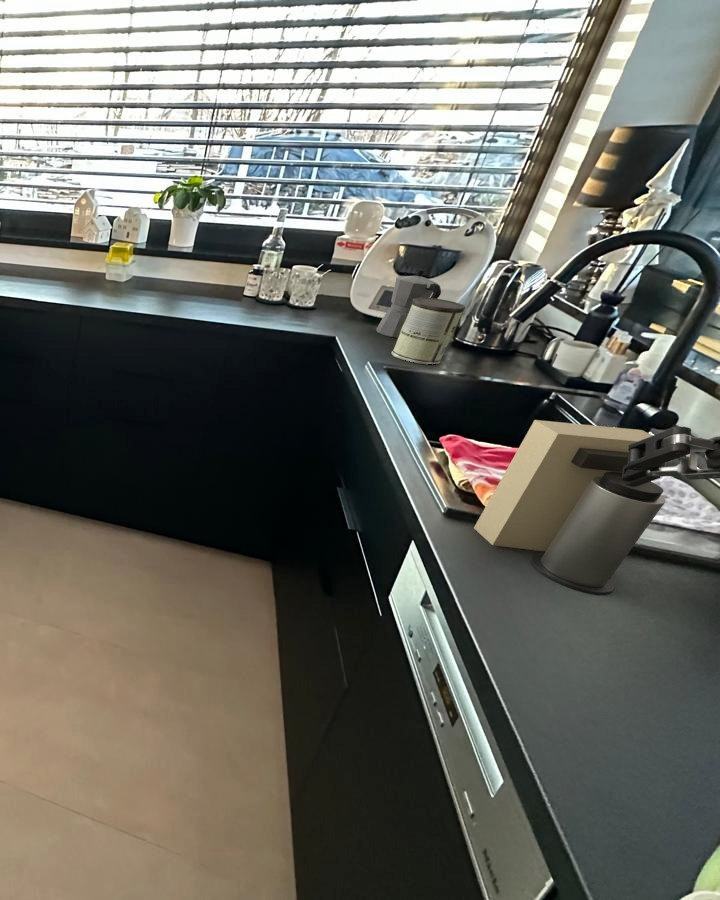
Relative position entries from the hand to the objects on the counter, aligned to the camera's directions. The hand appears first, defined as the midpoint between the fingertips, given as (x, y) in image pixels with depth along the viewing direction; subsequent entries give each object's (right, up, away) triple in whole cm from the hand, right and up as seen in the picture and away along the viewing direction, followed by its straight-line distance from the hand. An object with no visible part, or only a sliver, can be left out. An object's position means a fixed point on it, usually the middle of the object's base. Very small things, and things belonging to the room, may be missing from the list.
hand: (682, 487), depth 64 cm
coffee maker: (+2, -12, +16) cm, 20 cm away
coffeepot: (+55, +36, +110) cm, 129 cm away
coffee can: (+46, +27, +93) cm, 107 cm away
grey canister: (+2, -11, +13) cm, 17 cm away
